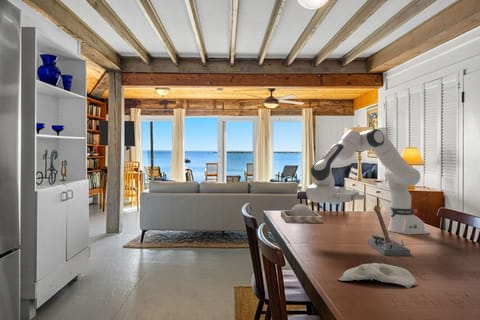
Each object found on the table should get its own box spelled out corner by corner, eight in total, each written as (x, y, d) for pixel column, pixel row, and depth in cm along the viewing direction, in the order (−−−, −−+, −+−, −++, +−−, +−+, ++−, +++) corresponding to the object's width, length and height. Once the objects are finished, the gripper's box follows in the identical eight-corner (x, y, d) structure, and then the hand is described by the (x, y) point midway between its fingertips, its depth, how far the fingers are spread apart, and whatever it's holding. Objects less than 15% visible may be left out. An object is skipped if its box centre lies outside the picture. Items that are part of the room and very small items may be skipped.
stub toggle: (402, 248, 167) (399, 240, 168) (403, 247, 169) (400, 239, 170) (405, 248, 167) (402, 239, 167) (406, 247, 169) (403, 238, 169)
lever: (385, 247, 171) (371, 207, 174) (387, 245, 174) (373, 205, 178) (392, 246, 169) (378, 205, 172) (394, 244, 173) (380, 204, 176)
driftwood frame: (313, 216, 266) (313, 210, 266) (322, 222, 241) (322, 216, 241) (280, 215, 265) (280, 210, 265) (285, 222, 241) (285, 216, 241)
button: (389, 240, 183) (390, 235, 183) (392, 241, 180) (392, 237, 180) (383, 240, 183) (383, 235, 183) (386, 241, 180) (386, 236, 180)
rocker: (381, 239, 184) (381, 236, 184) (383, 241, 180) (384, 238, 180) (371, 237, 183) (372, 234, 183) (374, 238, 180) (374, 236, 180)
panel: (391, 244, 186) (391, 234, 186) (410, 255, 166) (410, 244, 166) (367, 244, 186) (368, 234, 186) (384, 255, 166) (384, 244, 166)
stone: (412, 266, 139) (422, 280, 124) (408, 284, 139) (419, 301, 125) (338, 251, 144) (340, 263, 130) (336, 269, 145) (337, 283, 130)
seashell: (298, 227, 261) (286, 210, 261) (313, 215, 261) (301, 198, 261) (302, 231, 246) (289, 213, 246) (318, 219, 246) (305, 201, 246)
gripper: (330, 190, 176) (359, 192, 169) (342, 187, 194) (368, 189, 186) (329, 203, 176) (358, 206, 169) (341, 199, 194) (368, 201, 187)
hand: (364, 197), depth 178 cm, fingers closed
